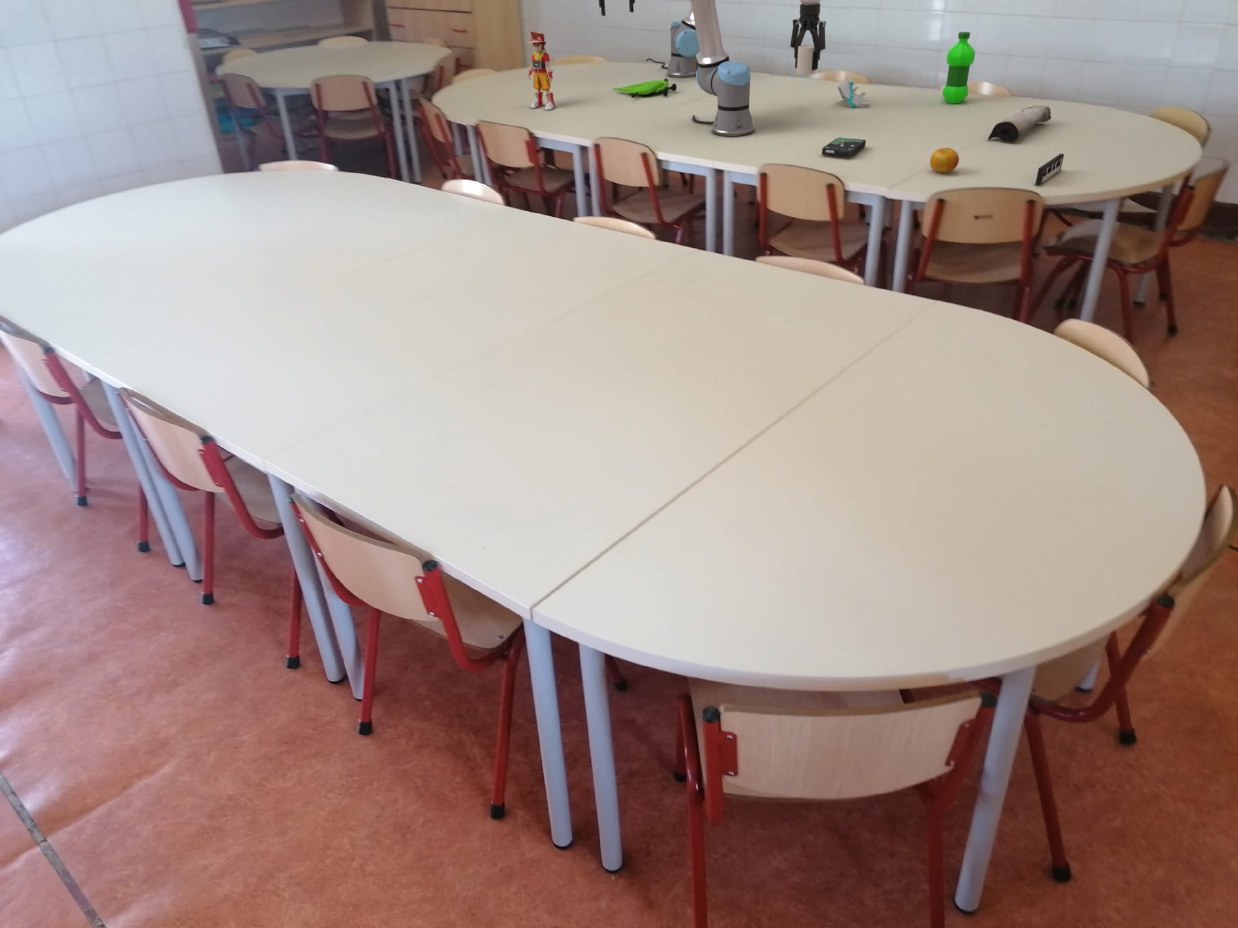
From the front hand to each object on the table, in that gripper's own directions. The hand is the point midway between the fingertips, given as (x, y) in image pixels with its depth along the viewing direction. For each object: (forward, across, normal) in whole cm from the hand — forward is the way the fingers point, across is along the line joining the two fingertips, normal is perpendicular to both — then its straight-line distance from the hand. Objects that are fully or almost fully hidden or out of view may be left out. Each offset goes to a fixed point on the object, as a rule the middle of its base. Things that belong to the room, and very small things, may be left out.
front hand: (806, 68), depth 349 cm
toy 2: (+15, +78, +14) cm, 80 cm away
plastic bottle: (+15, -43, -41) cm, 61 cm away
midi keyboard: (+15, -111, +29) cm, 116 cm away
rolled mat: (+15, -82, -14) cm, 85 cm away
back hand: (-14, +95, +8) cm, 97 cm away
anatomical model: (+15, -11, -18) cm, 26 cm away
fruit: (+15, -83, +41) cm, 94 cm away
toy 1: (+16, +94, +57) cm, 111 cm away
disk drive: (+15, -46, +41) cm, 63 cm away
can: (+1, 0, 0) cm, 1 cm away
